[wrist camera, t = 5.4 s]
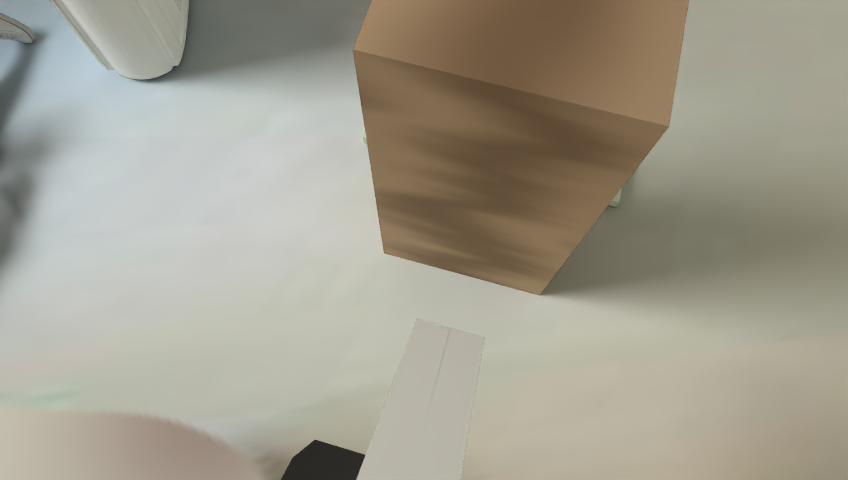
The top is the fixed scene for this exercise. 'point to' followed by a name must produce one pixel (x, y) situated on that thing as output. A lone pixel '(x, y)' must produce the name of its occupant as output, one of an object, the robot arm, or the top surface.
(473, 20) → the walnut block
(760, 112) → the top surface
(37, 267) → the top surface
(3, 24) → the action figure
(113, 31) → the photo printer
